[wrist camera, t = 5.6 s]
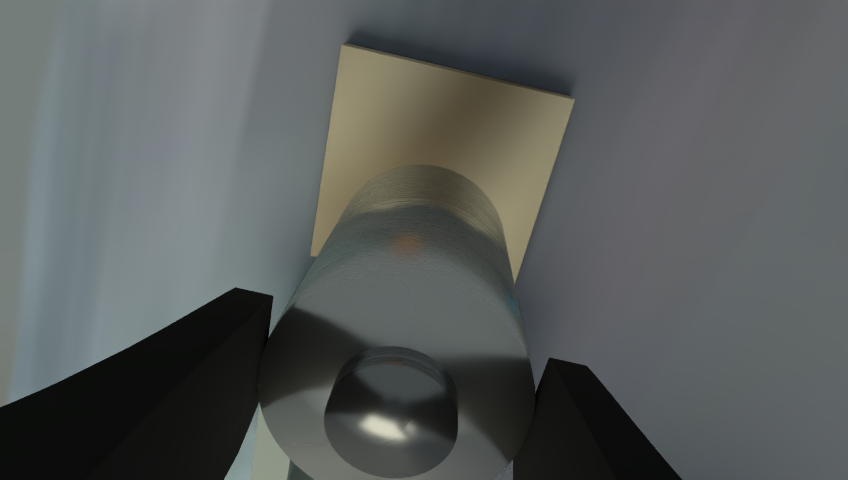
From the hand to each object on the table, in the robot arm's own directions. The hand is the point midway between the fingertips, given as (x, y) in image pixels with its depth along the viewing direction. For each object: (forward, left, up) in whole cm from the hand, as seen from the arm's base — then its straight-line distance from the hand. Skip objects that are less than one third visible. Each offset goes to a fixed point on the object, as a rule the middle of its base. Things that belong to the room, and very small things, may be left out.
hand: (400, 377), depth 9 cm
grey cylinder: (0, 0, -6) cm, 6 cm away
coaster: (0, 0, -10) cm, 10 cm away
